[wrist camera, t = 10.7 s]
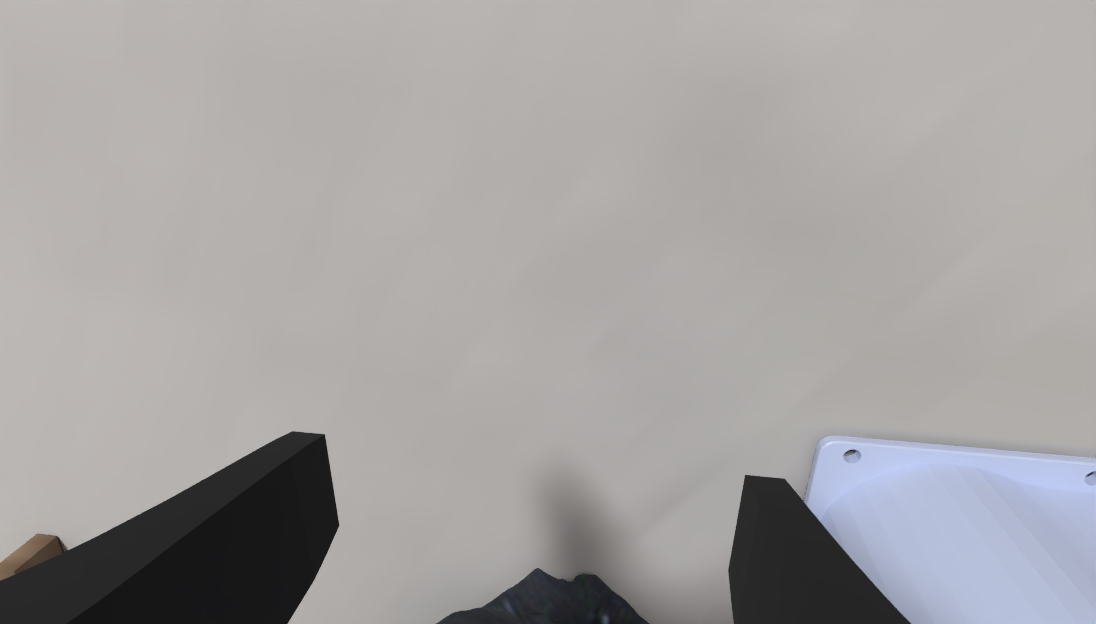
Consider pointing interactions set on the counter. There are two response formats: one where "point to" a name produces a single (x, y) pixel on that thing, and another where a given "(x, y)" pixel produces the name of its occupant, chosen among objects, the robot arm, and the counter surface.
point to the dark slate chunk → (552, 604)
